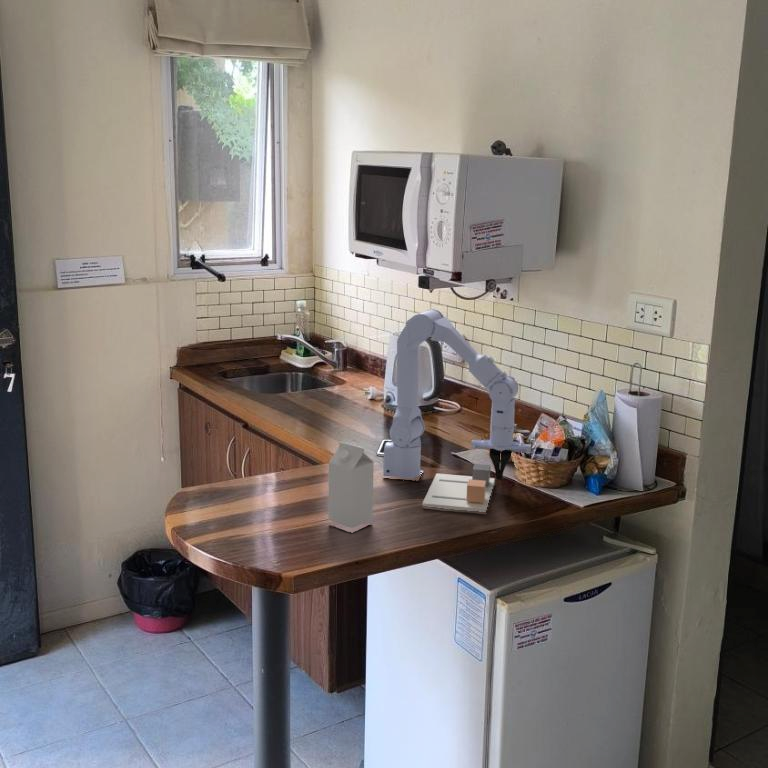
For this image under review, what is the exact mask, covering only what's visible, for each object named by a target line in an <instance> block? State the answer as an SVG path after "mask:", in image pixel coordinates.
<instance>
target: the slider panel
mask: <svg viewBox="0 0 768 768" xmlns="http://www.w3.org/2000/svg"><path fill="white" fill-rule="evenodd" d="M469 479H472V476H471V475H458V474H448V473H435V475H434V478H433V480H432V482H431V484H430V486H429V488H428V490H427V493H426V495H425V497H424V499H423V501H422V504H421V505H422V506H428V507H437V508H444V509H454V510H467V511H479V512H486V510H487V511H488V509H487V507H488V508H489V505H488V503H489V504H490V502H489V500H490V501H491V498H490V496H491V497H492V494H493V491H492V489H493V490H494V487H495V481H496V477H495V478H493V477H490V481H489V485H488V486H486V490H485V499H484V502H483V503H479V502H468V501H466V499H467V484H468V481H469ZM493 486H494V487H493ZM491 493H492V494H491ZM422 506H421V507H422Z"/></svg>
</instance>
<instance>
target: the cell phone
mask: <svg viewBox="0 0 768 768" xmlns="http://www.w3.org/2000/svg"><path fill="white" fill-rule="evenodd" d="M386 442H392V440H391V438H383V439H381V442H380V444H379V447H378V448H377V451H376V453H375V455H376V454H378V455H384V447H385V444H386Z"/></svg>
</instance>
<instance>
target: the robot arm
mask: <svg viewBox="0 0 768 768" xmlns="http://www.w3.org/2000/svg"><path fill="white" fill-rule="evenodd" d="M430 337H431V338H430ZM428 338H430V341H432V342H433V341H434V342H441V343H445V344H446V345H447V346H448V347H449V348H451V349H452V350H453V351H454V353H456V354H457V356H459V357H461V359H463V361H465V362H466V364H467V365H468V372H469V373H470V374H471V375H472V376H473V377H474V378H475V379H476V380H477V381H478V382H479V383H480V384H481V385H482V386H483V387H484V388H485V389H486V390H487V391H488V396H489V399H490V400H491V410H490V412H491V413H490V426H489V427H490V428H489V432H490V433H489V439H472V440H471V442H470V443H471V448H470V449H471V450H484V451H485V450H489V458H490V459H491V462H492V465H493V469H494V471H495V480H500V481H502V480H503V476H504V471H505V470H506V469H505V468H506V466H507V464H508V463H509V462H508V460H509V459H510V457H511V453H512V452H522V453H526V454H529V455H531V452H532V450H531V449H532V444H531V443H530V444H524V443H519V442H513V432H514V424H515V411H516V408H515V404H516V403H515V402H516V395H518V393H519V385H518V381H516V378H515V377H514V376H511V375H508V373H507V372H506V371H504V372H503V371H502V370H501V369H500V368H499V366H497V365H496V364H495V362H494V359H493V357H492V356H489V357H488V356H487V355H486V354H479V353H478V352H477V351H476V350H475V349H474V347H472V345H471V344H470V343H469V342H468V341H467V339H466V338H465V337H463V335H462V334H461V333H460V331H458V330H457V329H456V327H455V326H454V324H453V323H452V321H451V320H450V319H449V318H447V317H446V316H445V315H444V314H443V313H442V312H441V311H440V310H438V309H436V308H430V309H427V310H426V311H423V312H421V313H417V314H414V315H413V316H412V317H410V318H409V319H407V320H406V322H405V325H404V328H403V329H402V330H401V332H400V334H399V336H398V337H397V339H396V340H397V341H396V352H397V354H396V355H397V356H396V358H397V359H396V361H397V362H396V367H397V369H396V370H397V373H396V374H397V375H396V379H397V381H396V383H397V384H396V385H397V386H396V389H397V390H396V391H397V392H396V393H397V394H396V395H397V396H396V397H397V399H396V400H397V401H396V402H397V404H396V405H397V407H396V410H395V412H394V415H393V418H392V425H391V427H390V429H389V439H391V440H392V442H386V444H385V447H384V456H383V463H382V464H383V467H382V469H383V471H382V477H383V476H395V477H400V478H405V479H413V478H415V477H418V476H419V475H420V474H422V473H423V474H424V470H422V469H421V454H422V453H421V452H422V451H421V449H422V442H421V437H422V435H423V434H424V432H425V425H426V424H425V422H424V420H423V417H422V411H421V409H420V407H419V347H420V345H422V344H423V343H424V342H426V340H427V339H428ZM501 451H502V452H501ZM500 453H501V460H500ZM420 472H422V473H420ZM423 474H422V475H423ZM420 476H421V475H420ZM421 477H422V476H421Z"/></svg>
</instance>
